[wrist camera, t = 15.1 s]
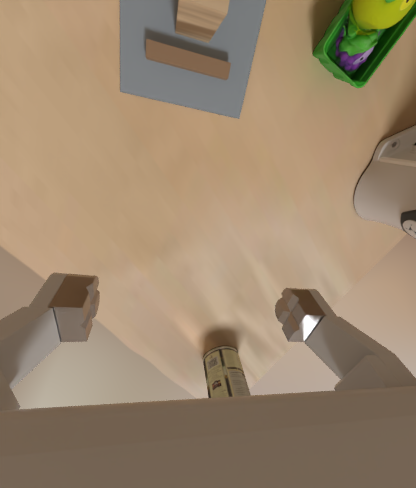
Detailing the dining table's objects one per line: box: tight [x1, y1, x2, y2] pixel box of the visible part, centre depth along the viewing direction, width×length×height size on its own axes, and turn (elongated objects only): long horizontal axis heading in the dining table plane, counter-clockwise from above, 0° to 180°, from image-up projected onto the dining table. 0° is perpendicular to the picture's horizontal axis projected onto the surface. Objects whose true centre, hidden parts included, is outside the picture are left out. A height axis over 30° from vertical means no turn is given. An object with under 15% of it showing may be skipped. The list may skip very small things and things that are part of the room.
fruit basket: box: [313, 0, 416, 88], centre depth 23 cm, size 11×9×11 cm
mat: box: [120, 0, 266, 119], centre depth 25 cm, size 18×16×2 cm
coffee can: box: [203, 346, 251, 398], centre depth 56 cm, size 10×10×14 cm
